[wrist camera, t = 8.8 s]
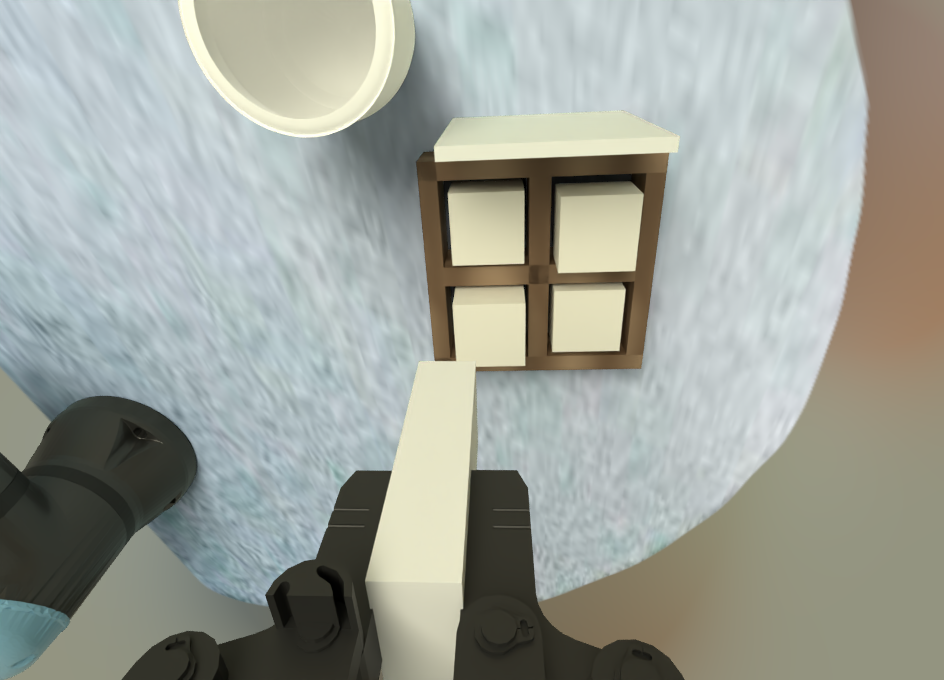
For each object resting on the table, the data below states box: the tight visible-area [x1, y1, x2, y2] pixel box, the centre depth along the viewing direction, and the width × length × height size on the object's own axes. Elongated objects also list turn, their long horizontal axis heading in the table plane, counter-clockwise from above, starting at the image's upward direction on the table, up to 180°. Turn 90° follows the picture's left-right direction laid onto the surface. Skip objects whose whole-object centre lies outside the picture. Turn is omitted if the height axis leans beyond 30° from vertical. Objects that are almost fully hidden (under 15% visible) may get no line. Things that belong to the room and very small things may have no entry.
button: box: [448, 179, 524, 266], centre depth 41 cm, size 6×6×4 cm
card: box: [434, 110, 680, 162], centre depth 34 cm, size 13×1×14 cm, turn 92°
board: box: [416, 151, 669, 371], centre depth 44 cm, size 18×18×4 cm
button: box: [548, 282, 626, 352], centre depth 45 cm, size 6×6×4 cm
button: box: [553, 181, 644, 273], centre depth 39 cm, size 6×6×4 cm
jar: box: [178, 0, 415, 137], centre depth 31 cm, size 11×10×15 cm
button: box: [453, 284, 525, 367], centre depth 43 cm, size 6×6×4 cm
